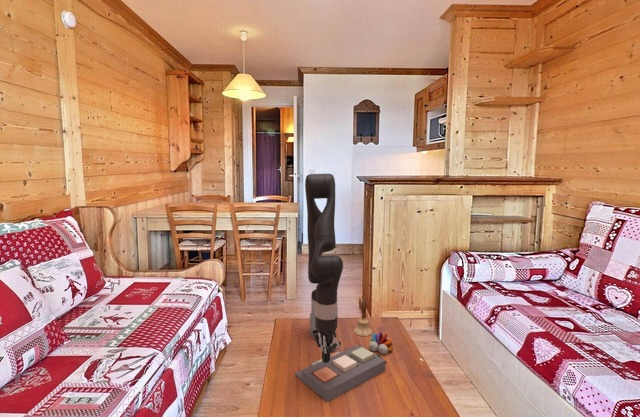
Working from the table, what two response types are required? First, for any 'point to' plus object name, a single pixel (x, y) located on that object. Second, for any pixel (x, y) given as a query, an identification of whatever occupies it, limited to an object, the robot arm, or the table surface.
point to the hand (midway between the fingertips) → (325, 361)
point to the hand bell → (363, 322)
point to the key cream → (344, 364)
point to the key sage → (362, 355)
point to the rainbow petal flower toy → (380, 343)
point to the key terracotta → (325, 374)
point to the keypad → (340, 375)
